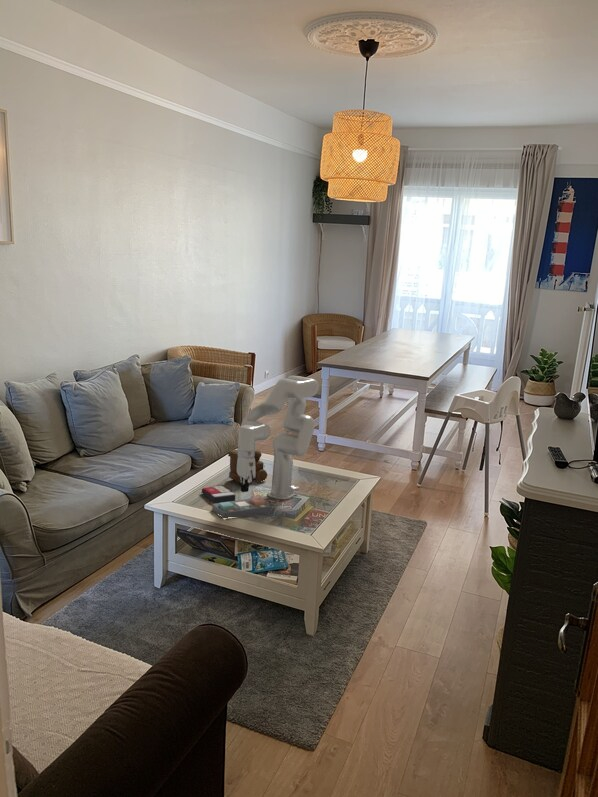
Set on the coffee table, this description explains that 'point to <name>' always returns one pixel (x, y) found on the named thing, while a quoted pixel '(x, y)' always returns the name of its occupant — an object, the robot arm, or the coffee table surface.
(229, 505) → the teal key
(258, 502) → the terracotta key
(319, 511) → the coffee table surface
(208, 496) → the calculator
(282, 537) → the coffee table surface
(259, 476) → the wooden toy train
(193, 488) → the coffee table surface
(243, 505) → the cream key
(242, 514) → the dark grey flat block
